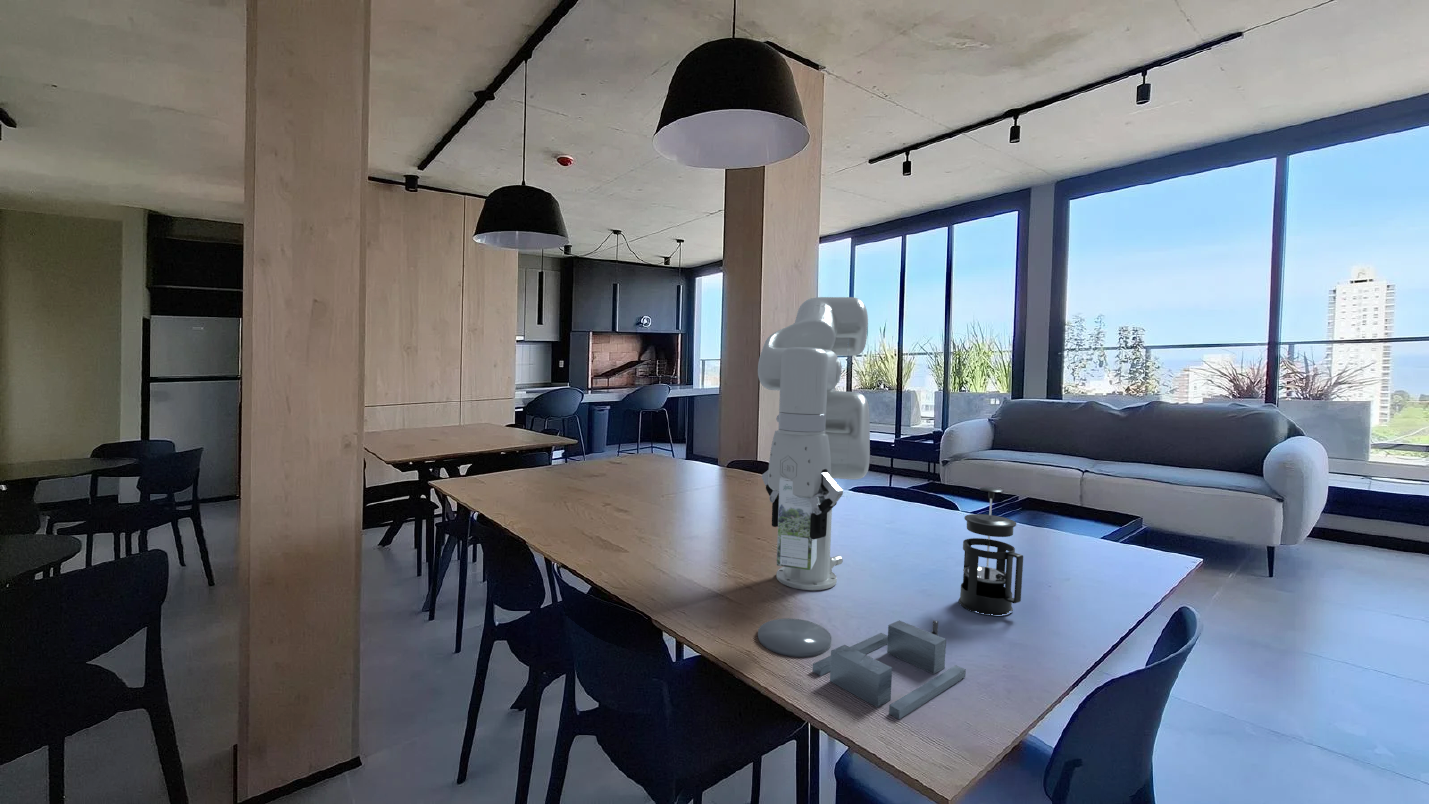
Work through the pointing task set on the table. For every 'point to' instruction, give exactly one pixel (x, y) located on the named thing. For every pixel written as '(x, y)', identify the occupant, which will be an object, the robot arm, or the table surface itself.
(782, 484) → the syrup box
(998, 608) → the french press
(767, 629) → the coaster
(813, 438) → the robot arm
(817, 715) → the table surface
